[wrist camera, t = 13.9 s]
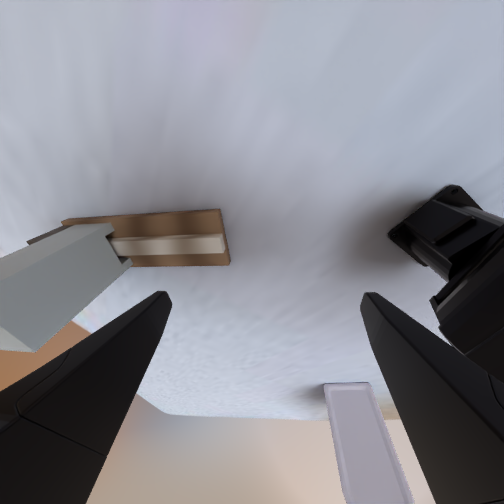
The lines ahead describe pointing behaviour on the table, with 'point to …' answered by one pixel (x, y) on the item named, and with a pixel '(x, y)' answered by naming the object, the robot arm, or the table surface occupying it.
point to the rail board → (163, 237)
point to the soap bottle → (364, 447)
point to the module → (54, 283)
